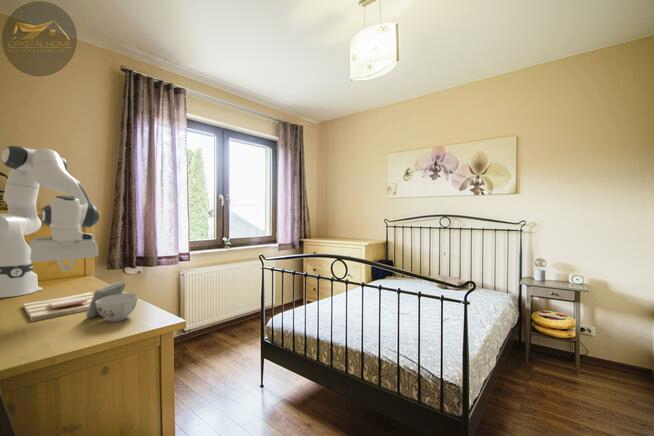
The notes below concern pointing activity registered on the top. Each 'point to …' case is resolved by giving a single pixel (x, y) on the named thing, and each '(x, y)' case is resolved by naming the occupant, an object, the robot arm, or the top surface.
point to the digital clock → (104, 292)
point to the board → (44, 311)
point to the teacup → (116, 306)
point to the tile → (67, 302)
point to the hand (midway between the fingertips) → (66, 270)
